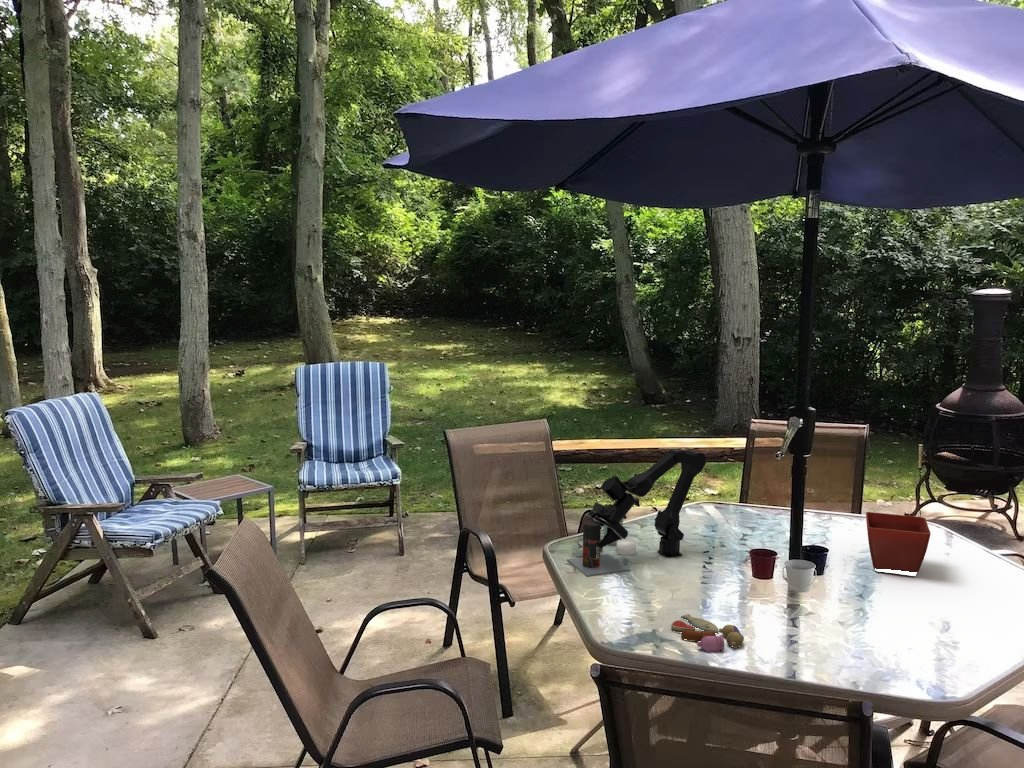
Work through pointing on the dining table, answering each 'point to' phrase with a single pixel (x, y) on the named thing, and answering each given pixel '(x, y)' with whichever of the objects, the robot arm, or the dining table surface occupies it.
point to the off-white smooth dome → (626, 547)
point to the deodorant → (591, 544)
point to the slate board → (606, 566)
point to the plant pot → (897, 541)
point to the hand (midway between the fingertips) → (592, 543)
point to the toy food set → (707, 633)
